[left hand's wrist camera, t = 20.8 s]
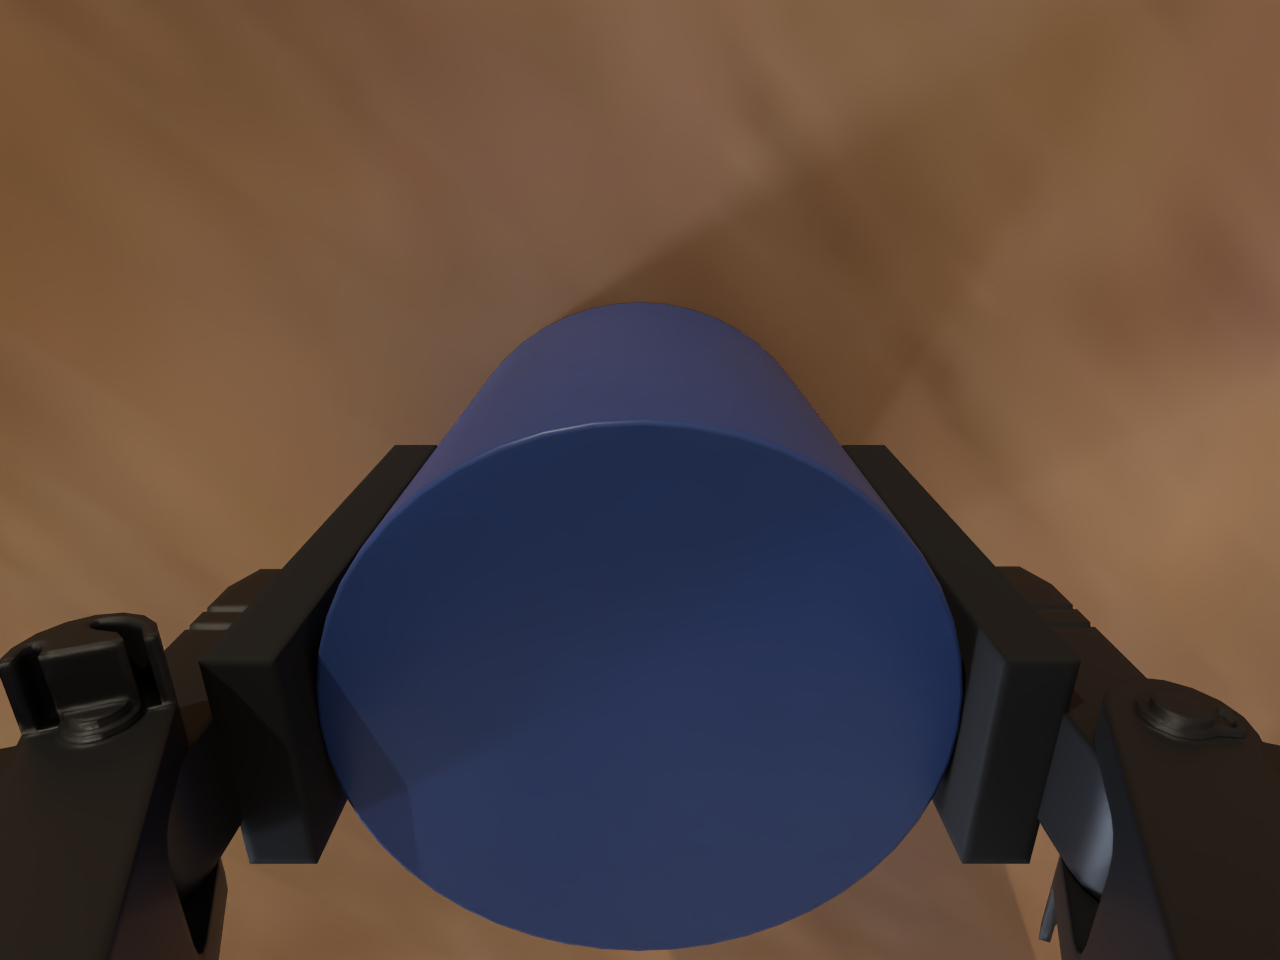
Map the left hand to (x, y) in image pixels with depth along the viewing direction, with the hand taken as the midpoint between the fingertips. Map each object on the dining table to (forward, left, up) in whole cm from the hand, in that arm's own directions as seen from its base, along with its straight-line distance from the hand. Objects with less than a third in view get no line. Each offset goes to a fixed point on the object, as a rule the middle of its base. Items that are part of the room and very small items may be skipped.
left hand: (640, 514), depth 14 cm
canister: (0, 0, -2) cm, 2 cm away
